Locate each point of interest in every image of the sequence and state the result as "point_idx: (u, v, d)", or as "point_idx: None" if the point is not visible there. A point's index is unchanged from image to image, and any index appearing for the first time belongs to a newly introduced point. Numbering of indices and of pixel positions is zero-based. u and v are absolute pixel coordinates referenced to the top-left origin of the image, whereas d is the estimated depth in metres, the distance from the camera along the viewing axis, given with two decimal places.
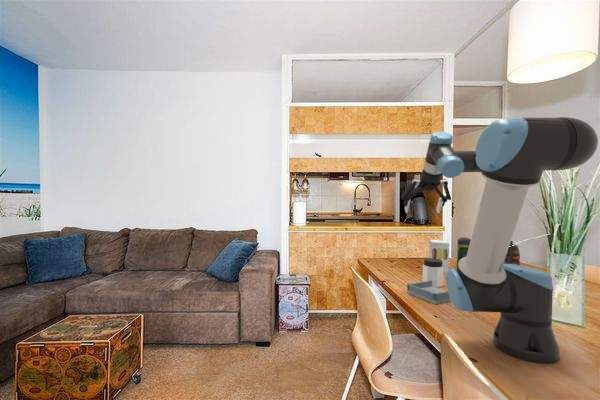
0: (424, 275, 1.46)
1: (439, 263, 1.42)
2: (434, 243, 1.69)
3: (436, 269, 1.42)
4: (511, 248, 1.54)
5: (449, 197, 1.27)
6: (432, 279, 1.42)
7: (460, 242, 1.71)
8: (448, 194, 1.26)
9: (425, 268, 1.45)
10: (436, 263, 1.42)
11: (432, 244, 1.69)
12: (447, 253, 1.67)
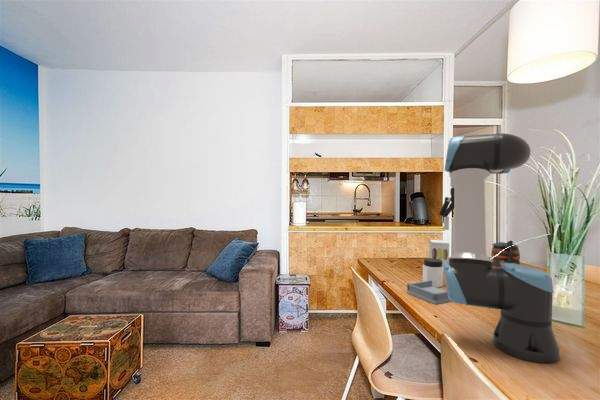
0: (424, 275, 1.46)
1: (439, 263, 1.42)
2: (434, 243, 1.69)
3: (436, 269, 1.42)
4: (511, 248, 1.54)
5: None
6: (432, 279, 1.42)
7: None
8: None
9: (425, 268, 1.45)
10: (436, 263, 1.42)
11: (432, 244, 1.69)
12: (447, 253, 1.67)
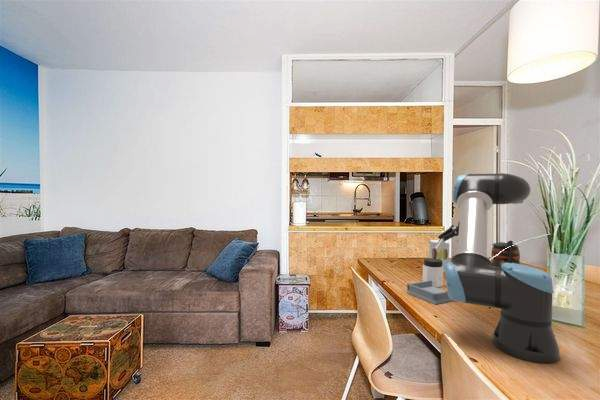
0: (424, 275, 1.46)
1: (439, 263, 1.42)
2: (434, 243, 1.69)
3: (436, 269, 1.42)
4: (511, 248, 1.54)
5: None
6: (432, 279, 1.42)
7: None
8: None
9: (425, 268, 1.45)
10: (436, 263, 1.42)
11: (432, 244, 1.69)
12: (447, 253, 1.67)
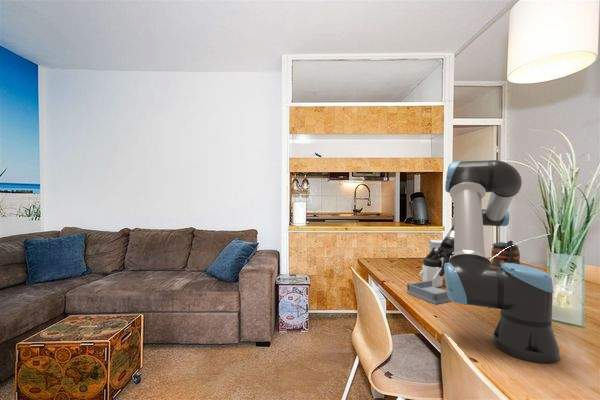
0: (424, 275, 1.46)
1: (439, 263, 1.42)
2: (434, 243, 1.69)
3: (436, 269, 1.42)
4: (511, 248, 1.54)
5: None
6: (431, 279, 1.43)
7: None
8: (449, 262, 1.41)
9: (425, 268, 1.45)
10: (436, 263, 1.42)
11: (432, 244, 1.69)
12: None
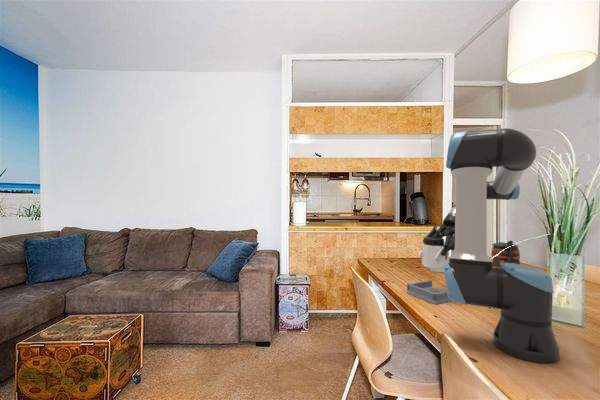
0: (424, 255, 1.31)
1: (440, 241, 1.27)
2: None
3: (437, 248, 1.27)
4: (511, 248, 1.54)
5: (451, 244, 1.25)
6: (432, 259, 1.27)
7: None
8: (452, 240, 1.26)
9: (425, 247, 1.30)
10: (437, 241, 1.27)
11: None
12: (447, 253, 1.67)
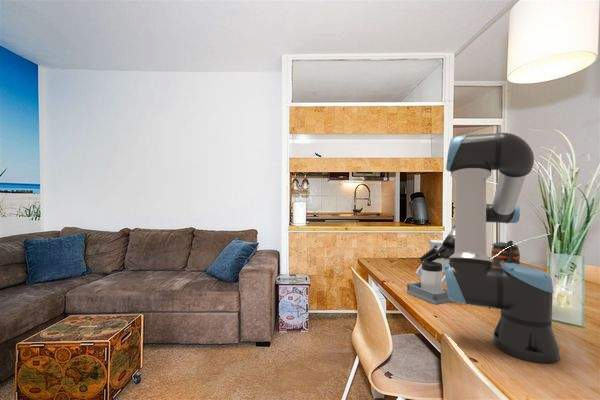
0: (421, 280, 1.33)
1: (437, 267, 1.28)
2: (434, 243, 1.69)
3: (434, 274, 1.28)
4: (511, 248, 1.54)
5: None
6: (429, 284, 1.29)
7: None
8: None
9: (422, 272, 1.32)
10: (434, 267, 1.28)
11: (432, 244, 1.69)
12: None
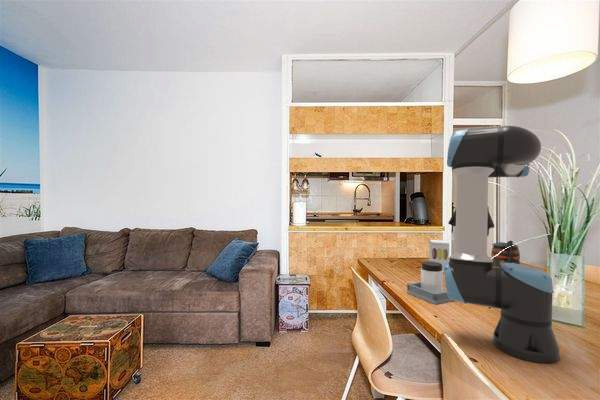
0: (422, 280, 1.33)
1: (437, 267, 1.28)
2: (434, 243, 1.69)
3: (434, 274, 1.28)
4: (511, 248, 1.54)
5: (489, 223, 1.28)
6: (429, 284, 1.29)
7: None
8: (487, 219, 1.29)
9: (422, 272, 1.32)
10: (434, 267, 1.28)
11: (432, 244, 1.69)
12: (447, 253, 1.67)
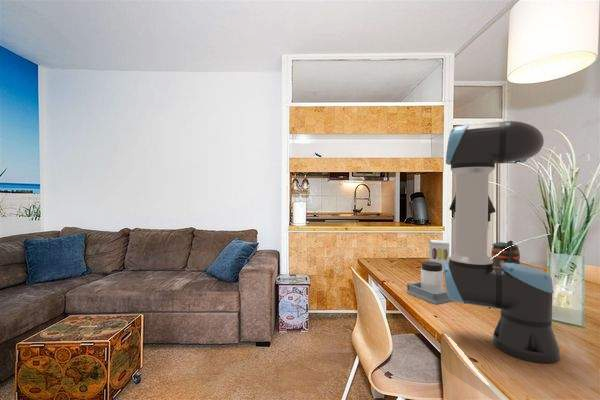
0: (422, 280, 1.33)
1: (437, 267, 1.28)
2: (434, 243, 1.69)
3: (434, 274, 1.28)
4: (511, 248, 1.54)
5: (489, 209, 1.26)
6: (429, 284, 1.29)
7: None
8: (488, 205, 1.27)
9: (422, 272, 1.32)
10: (434, 267, 1.28)
11: (432, 244, 1.69)
12: (447, 253, 1.67)
